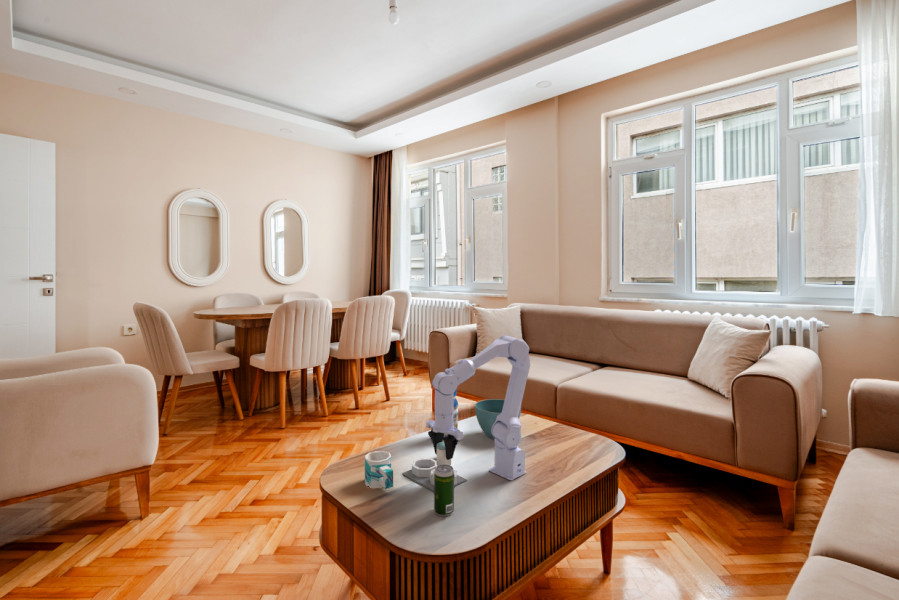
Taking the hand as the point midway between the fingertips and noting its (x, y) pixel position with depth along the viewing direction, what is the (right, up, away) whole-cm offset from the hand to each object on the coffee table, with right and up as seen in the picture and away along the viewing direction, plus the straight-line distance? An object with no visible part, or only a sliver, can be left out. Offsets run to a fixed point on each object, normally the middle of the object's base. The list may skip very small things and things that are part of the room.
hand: (443, 456), depth 132 cm
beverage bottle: (+1, -6, +37) cm, 38 cm away
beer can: (0, -10, -16) cm, 18 cm away
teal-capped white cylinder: (0, -2, 0) cm, 2 cm away
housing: (-3, -8, +4) cm, 10 cm away
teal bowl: (+21, -6, +40) cm, 45 cm away
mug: (-19, -9, -1) cm, 21 cm away
